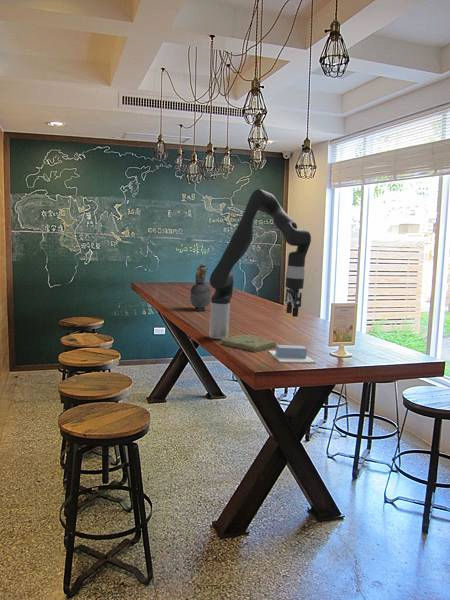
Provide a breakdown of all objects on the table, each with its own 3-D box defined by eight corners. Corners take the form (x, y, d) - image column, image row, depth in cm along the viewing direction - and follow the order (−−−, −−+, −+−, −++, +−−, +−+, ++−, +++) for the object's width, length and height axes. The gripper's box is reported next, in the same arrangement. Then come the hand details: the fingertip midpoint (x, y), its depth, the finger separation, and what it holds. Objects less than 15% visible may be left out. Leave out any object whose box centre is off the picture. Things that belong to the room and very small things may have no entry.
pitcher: (195, 311, 334) (197, 264, 330) (186, 307, 352) (189, 262, 348) (211, 311, 338) (214, 265, 334) (202, 307, 355) (204, 262, 351)
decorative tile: (255, 353, 232) (255, 345, 231) (220, 345, 244) (220, 337, 244) (278, 347, 246) (279, 340, 246) (244, 340, 259) (245, 333, 258)
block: (302, 354, 230) (303, 345, 229) (306, 357, 224) (306, 348, 224) (275, 353, 228) (276, 344, 228) (278, 357, 223) (279, 347, 222)
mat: (268, 351, 234) (268, 350, 234) (300, 352, 237) (300, 351, 237) (280, 362, 216) (280, 361, 216) (315, 363, 218) (315, 361, 218)
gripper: (309, 279, 216) (305, 318, 218) (298, 275, 230) (295, 312, 232) (291, 278, 214) (288, 317, 217) (281, 274, 228) (278, 311, 231)
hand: (291, 314), depth 224 cm, fingers open, 8 cm apart
